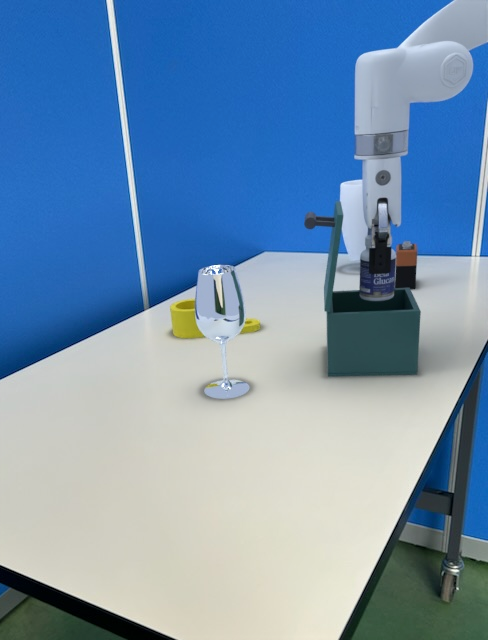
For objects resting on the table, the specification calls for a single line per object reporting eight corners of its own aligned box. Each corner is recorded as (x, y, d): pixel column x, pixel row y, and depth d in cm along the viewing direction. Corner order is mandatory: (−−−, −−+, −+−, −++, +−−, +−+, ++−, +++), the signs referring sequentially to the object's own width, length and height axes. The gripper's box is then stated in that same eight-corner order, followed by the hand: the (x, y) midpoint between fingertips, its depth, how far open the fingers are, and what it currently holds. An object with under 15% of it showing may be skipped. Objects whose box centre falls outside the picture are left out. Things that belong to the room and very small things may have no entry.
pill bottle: (374, 304, 98) (375, 241, 93) (352, 296, 102) (353, 236, 98) (401, 297, 99) (404, 235, 95) (379, 290, 104) (380, 230, 100)
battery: (394, 291, 140) (396, 246, 136) (395, 282, 146) (396, 240, 142) (415, 290, 139) (417, 245, 135) (414, 282, 145) (417, 239, 141)
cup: (386, 272, 155) (389, 182, 145) (344, 277, 155) (344, 187, 146) (374, 263, 164) (376, 177, 155) (334, 267, 164) (334, 182, 155)
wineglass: (244, 377, 105) (235, 260, 97) (256, 396, 98) (248, 271, 90) (199, 385, 104) (186, 267, 96) (208, 404, 97) (195, 279, 89)
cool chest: (406, 347, 110) (409, 287, 105) (416, 376, 99) (420, 311, 94) (326, 349, 113) (326, 291, 108) (327, 378, 102) (327, 314, 97)
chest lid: (340, 201, 101) (306, 199, 102) (343, 215, 90) (305, 212, 91) (328, 289, 108) (297, 286, 109) (330, 312, 97) (294, 309, 97)
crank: (170, 340, 126) (166, 312, 123) (177, 326, 133) (173, 299, 131) (259, 336, 123) (257, 307, 120) (261, 322, 130) (259, 295, 128)
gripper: (416, 148, 83) (409, 281, 90) (401, 139, 98) (396, 254, 105) (357, 153, 84) (356, 284, 92) (351, 144, 99) (350, 257, 107)
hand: (377, 267), depth 99 cm, fingers closed on pill bottle, 5 cm apart
